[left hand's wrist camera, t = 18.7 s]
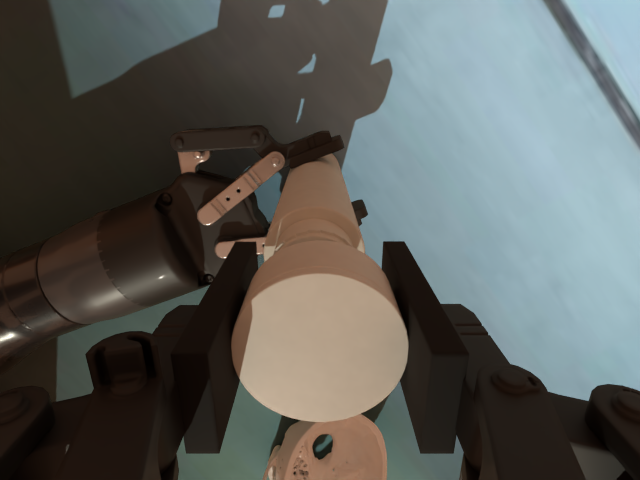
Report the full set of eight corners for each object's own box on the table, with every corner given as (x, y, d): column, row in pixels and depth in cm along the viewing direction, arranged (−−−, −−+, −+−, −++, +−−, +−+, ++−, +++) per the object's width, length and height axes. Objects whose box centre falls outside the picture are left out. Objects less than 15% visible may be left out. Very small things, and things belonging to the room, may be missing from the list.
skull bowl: (228, 485, 43) (242, 558, 31) (293, 369, 47) (327, 396, 35) (306, 523, 45) (346, 605, 33) (362, 409, 49) (415, 447, 37)
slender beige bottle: (350, 172, 32) (396, 277, 14) (315, 206, 33) (314, 346, 15) (315, 136, 31) (313, 198, 13) (280, 172, 32) (231, 278, 14)
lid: (248, 233, 11) (231, 264, 9) (405, 246, 11) (424, 280, 9) (244, 363, 13) (229, 416, 11) (382, 373, 13) (394, 428, 11)
